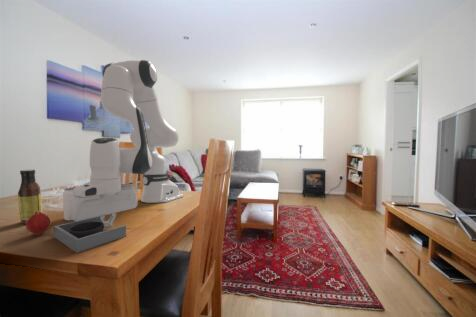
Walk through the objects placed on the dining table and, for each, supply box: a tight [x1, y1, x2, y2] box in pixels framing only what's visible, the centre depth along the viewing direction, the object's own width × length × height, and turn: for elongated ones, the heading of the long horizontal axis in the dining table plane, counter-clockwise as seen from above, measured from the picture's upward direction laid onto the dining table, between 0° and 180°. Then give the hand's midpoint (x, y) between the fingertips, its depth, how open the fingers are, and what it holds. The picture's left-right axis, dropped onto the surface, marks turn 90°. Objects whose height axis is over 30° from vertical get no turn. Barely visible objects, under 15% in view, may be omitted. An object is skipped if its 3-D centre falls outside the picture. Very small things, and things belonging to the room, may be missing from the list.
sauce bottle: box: [17, 168, 43, 225], centre depth 83 cm, size 7×6×20 cm
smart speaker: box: [69, 222, 105, 239], centre depth 69 cm, size 9×9×4 cm
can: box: [62, 186, 77, 222], centre depth 87 cm, size 6×6×12 cm
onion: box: [25, 211, 51, 236], centre depth 71 cm, size 6×6×8 cm
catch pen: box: [53, 217, 127, 254], centre depth 70 cm, size 14×18×4 cm
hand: (107, 227), depth 74 cm, fingers closed
